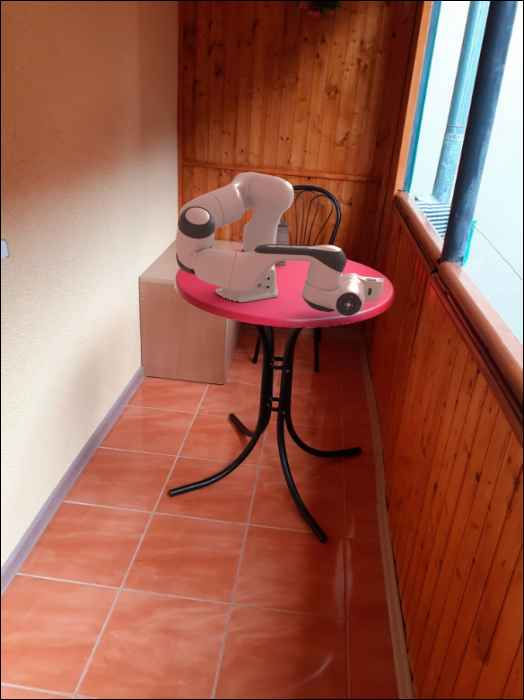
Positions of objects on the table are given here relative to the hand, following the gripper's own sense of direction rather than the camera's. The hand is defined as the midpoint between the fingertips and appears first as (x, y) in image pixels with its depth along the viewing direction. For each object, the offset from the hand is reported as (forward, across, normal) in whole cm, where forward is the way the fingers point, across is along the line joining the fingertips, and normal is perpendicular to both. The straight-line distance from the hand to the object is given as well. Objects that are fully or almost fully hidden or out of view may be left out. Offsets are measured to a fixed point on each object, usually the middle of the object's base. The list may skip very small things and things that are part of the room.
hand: (351, 276), depth 184 cm
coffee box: (+46, -30, -10) cm, 56 cm away
